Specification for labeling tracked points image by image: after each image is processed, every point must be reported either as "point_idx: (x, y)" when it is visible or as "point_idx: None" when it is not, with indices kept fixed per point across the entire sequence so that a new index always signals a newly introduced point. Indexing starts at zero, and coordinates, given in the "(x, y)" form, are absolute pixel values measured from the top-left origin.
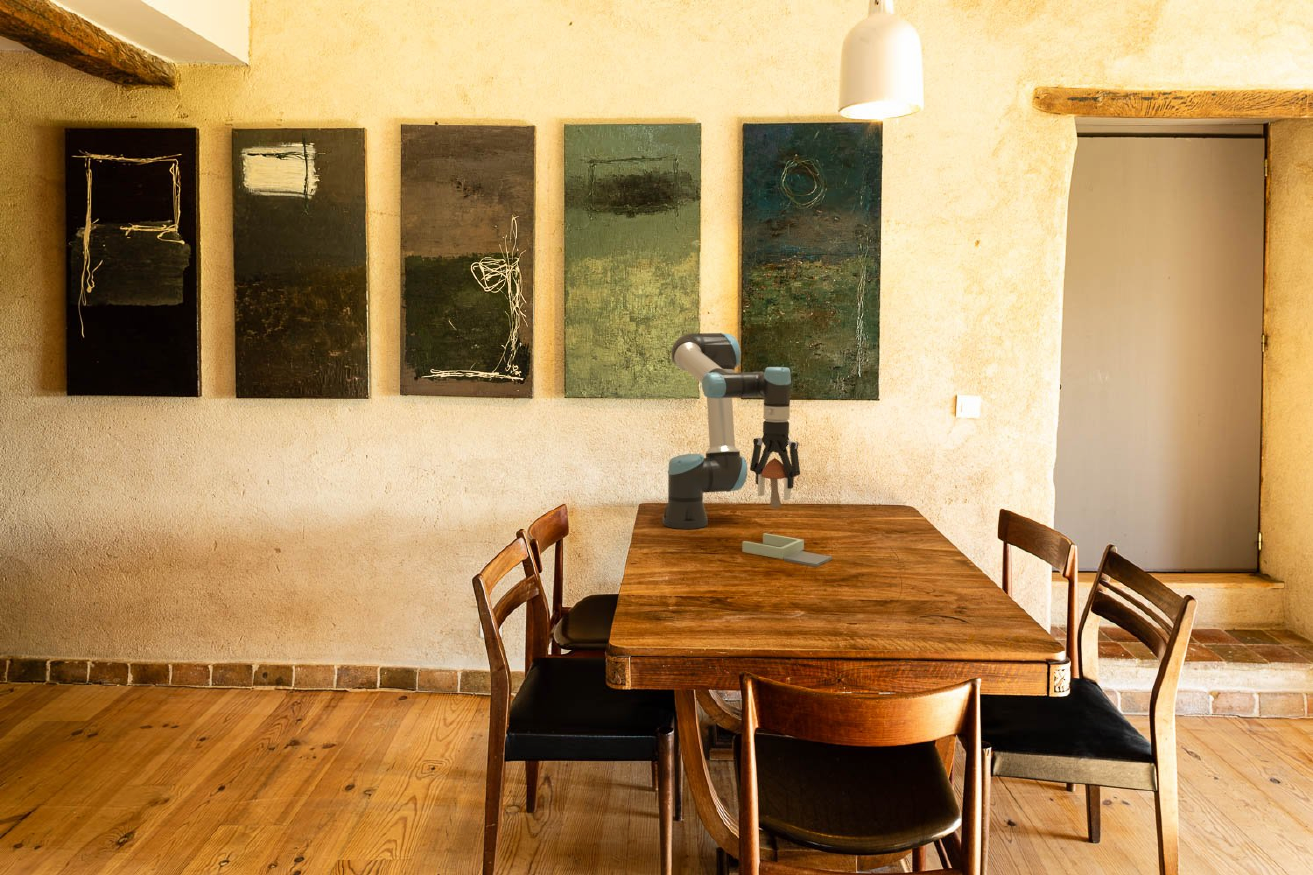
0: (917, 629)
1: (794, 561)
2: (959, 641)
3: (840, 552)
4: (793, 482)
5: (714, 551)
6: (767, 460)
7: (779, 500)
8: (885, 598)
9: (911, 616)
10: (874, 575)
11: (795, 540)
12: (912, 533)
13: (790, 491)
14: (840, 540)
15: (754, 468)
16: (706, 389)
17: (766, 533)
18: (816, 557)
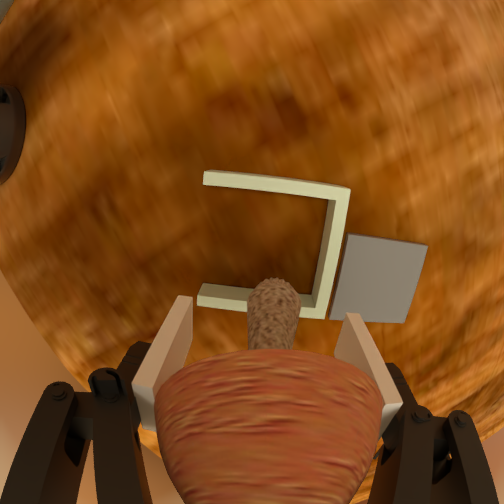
0: (479, 428)
1: None
2: (497, 424)
3: (429, 167)
4: (408, 386)
5: (149, 319)
6: (142, 500)
7: (298, 318)
8: (478, 386)
9: (485, 410)
10: (486, 307)
11: (324, 198)
12: None
13: (370, 338)
14: (389, 40)
15: (87, 435)
16: None
17: (209, 172)
18: (397, 273)
